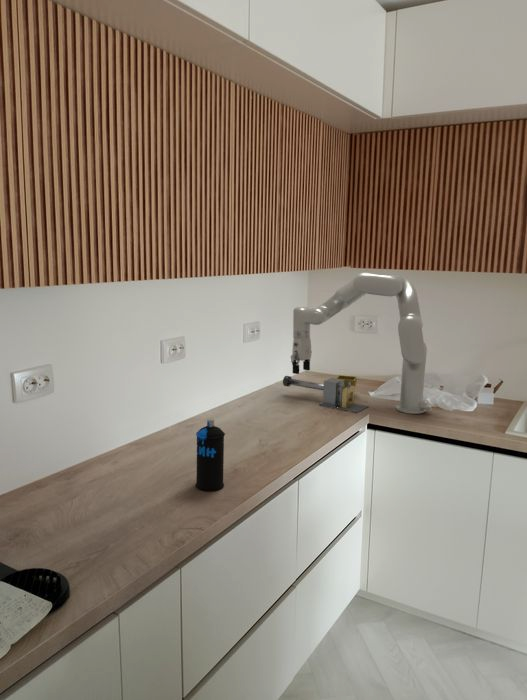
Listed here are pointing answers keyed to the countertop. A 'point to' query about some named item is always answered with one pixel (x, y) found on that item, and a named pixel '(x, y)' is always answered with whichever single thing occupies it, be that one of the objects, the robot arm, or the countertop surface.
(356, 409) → the mat
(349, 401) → the gold bearing plate
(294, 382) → the shaft
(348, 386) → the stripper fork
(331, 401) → the block
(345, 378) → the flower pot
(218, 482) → the aerosol can
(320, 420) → the countertop surface
